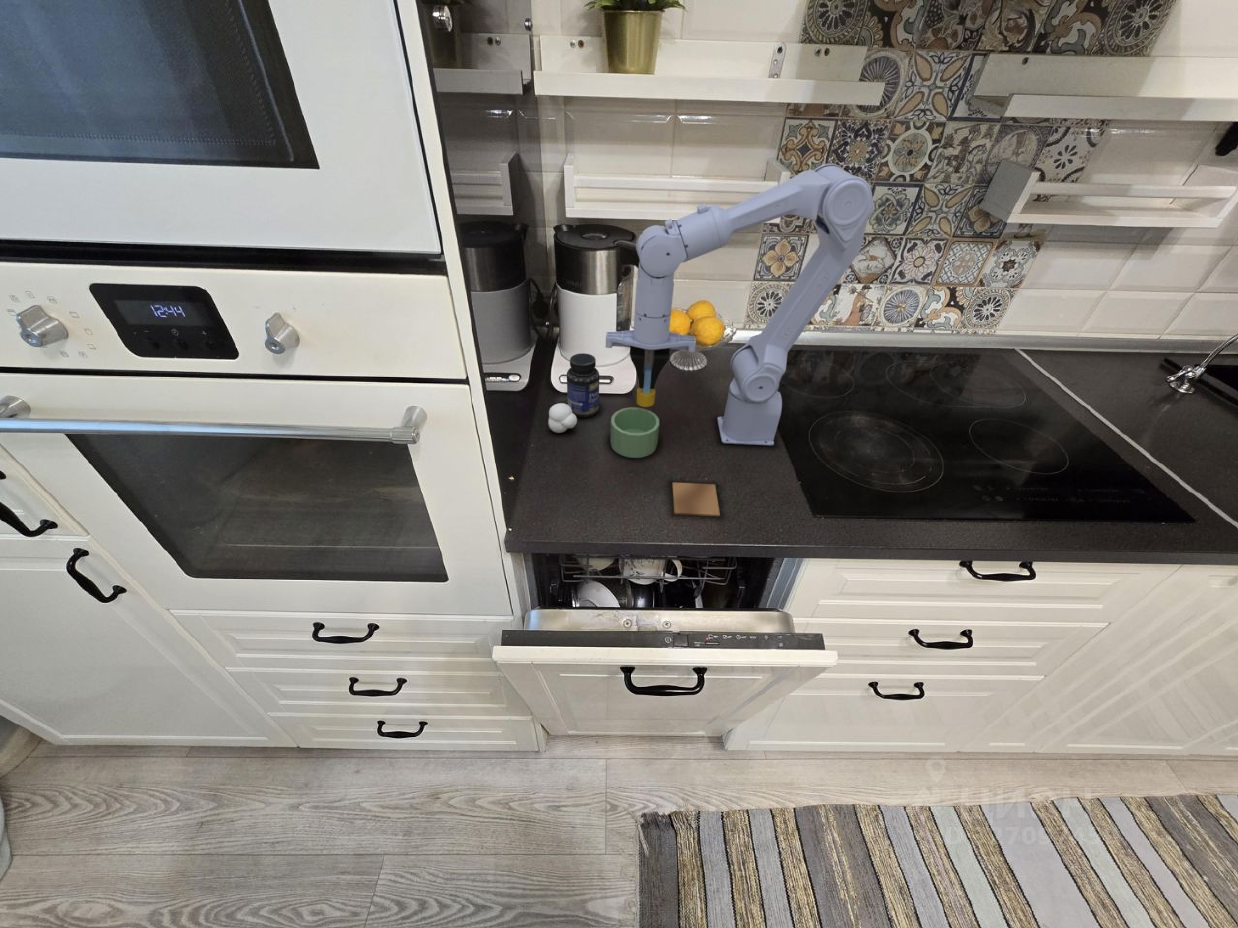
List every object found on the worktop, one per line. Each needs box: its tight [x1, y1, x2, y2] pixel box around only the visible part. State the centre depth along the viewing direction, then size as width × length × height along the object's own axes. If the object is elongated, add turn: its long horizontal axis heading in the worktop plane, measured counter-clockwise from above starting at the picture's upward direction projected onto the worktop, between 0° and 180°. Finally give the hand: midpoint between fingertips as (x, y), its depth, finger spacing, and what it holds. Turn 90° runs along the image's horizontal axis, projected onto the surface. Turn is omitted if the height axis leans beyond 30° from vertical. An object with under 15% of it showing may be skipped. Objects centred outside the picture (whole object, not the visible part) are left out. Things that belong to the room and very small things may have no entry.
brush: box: [636, 363, 656, 408], centre depth 89 cm, size 3×3×7 cm
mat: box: [671, 482, 721, 517], centre depth 82 cm, size 7×7×1 cm
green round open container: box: [609, 406, 660, 459], centre depth 91 cm, size 8×8×5 cm
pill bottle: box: [566, 353, 600, 419], centre depth 97 cm, size 6×6×11 cm
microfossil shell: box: [547, 402, 578, 434], centre depth 93 cm, size 4×5×6 cm
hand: (646, 385), depth 89 cm, fingers closed on brush
